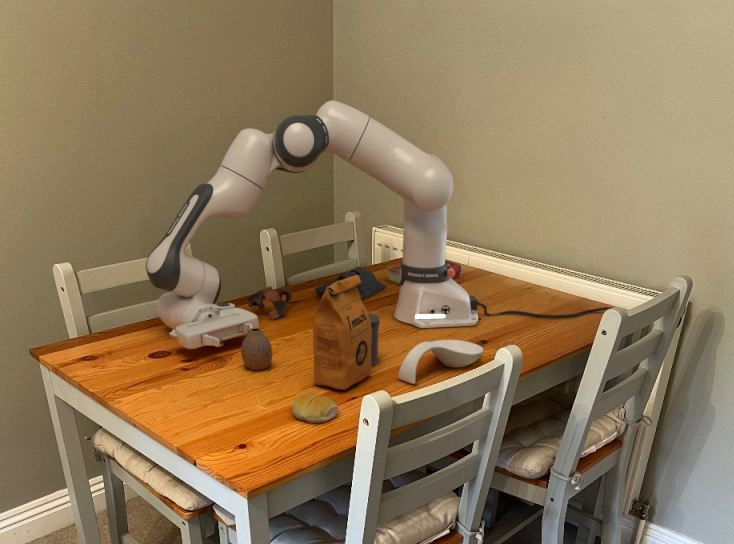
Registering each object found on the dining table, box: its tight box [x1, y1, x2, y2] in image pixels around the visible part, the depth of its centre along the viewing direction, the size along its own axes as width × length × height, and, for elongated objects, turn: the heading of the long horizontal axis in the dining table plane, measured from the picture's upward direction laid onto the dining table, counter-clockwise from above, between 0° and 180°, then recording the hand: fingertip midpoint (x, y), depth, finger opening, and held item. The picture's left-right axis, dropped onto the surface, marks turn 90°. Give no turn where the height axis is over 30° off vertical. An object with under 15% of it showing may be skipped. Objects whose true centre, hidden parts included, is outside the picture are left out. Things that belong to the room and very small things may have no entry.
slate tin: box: [367, 312, 381, 367], centre depth 169 cm, size 7×7×10 cm
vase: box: [240, 327, 273, 371], centre depth 165 cm, size 7×7×9 cm
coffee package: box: [312, 275, 373, 391], centre depth 156 cm, size 10×12×22 cm
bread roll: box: [291, 392, 339, 424], centre depth 146 cm, size 8×9×4 cm
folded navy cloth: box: [314, 266, 386, 300], centre depth 217 cm, size 15×22×5 cm
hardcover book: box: [385, 259, 463, 286], centre depth 229 cm, size 12×21×4 cm, turn 130°
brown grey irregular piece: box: [247, 285, 293, 321], centre depth 198 cm, size 12×10×8 cm
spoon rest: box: [397, 339, 484, 385], centre depth 166 cm, size 24×12×7 cm, turn 137°
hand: (237, 338), depth 169 cm, fingers open, 8 cm apart
